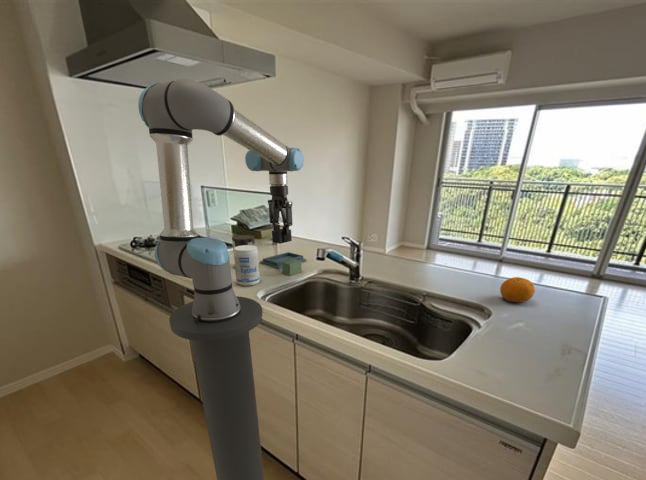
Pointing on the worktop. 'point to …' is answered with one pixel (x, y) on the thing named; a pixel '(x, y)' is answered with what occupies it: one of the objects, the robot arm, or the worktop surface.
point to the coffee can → (242, 240)
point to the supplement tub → (246, 265)
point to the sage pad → (291, 267)
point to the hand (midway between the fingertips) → (281, 240)
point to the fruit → (517, 289)
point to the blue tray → (281, 259)
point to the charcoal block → (279, 236)
